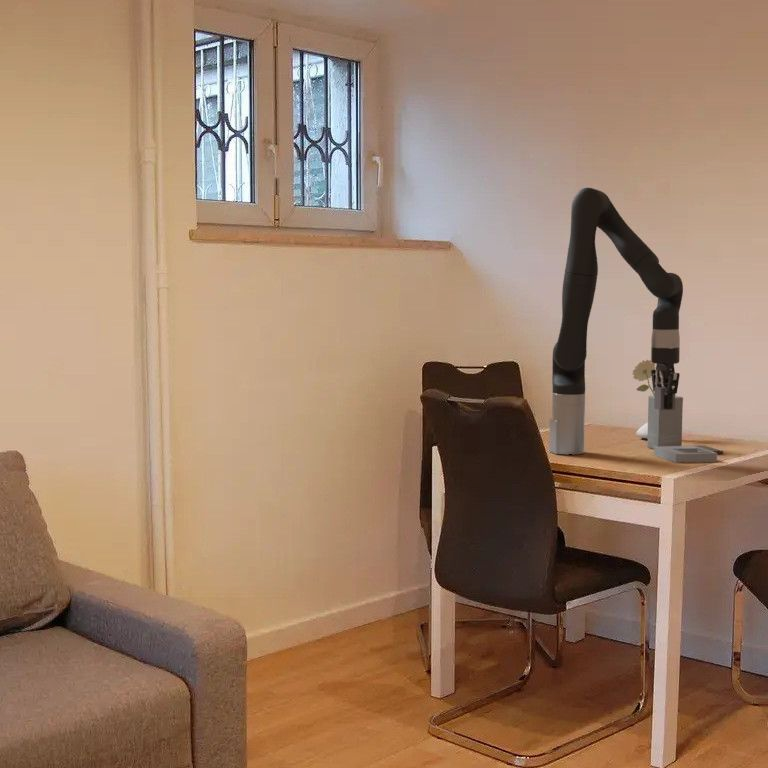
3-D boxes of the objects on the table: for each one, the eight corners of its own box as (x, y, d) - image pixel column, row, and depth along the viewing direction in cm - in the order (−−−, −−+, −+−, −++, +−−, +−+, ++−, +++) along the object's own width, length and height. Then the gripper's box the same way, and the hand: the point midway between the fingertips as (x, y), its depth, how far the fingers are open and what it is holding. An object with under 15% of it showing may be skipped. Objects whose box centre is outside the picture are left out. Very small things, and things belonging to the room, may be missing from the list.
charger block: (660, 410, 305) (660, 387, 304) (654, 408, 309) (654, 386, 308) (675, 409, 305) (675, 387, 305) (668, 408, 309) (668, 386, 309)
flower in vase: (668, 436, 356) (670, 358, 354) (677, 441, 345) (679, 361, 342) (627, 436, 356) (629, 358, 354) (635, 441, 345) (636, 360, 343)
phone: (723, 454, 319) (723, 450, 319) (703, 454, 318) (703, 451, 318) (703, 448, 331) (703, 444, 331) (684, 448, 330) (684, 445, 330)
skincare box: (670, 446, 335) (671, 393, 333) (683, 449, 328) (685, 396, 326) (645, 447, 332) (646, 394, 331) (658, 451, 325) (659, 397, 324)
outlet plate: (675, 462, 304) (676, 453, 304) (654, 455, 318) (654, 446, 317) (716, 461, 306) (717, 452, 306) (693, 454, 320) (693, 445, 320)
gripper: (642, 344, 312) (641, 405, 313) (663, 347, 298) (662, 411, 299) (667, 344, 313) (666, 405, 315) (689, 347, 299) (688, 410, 301)
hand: (664, 407), depth 307 cm, fingers closed on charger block, 4 cm apart
